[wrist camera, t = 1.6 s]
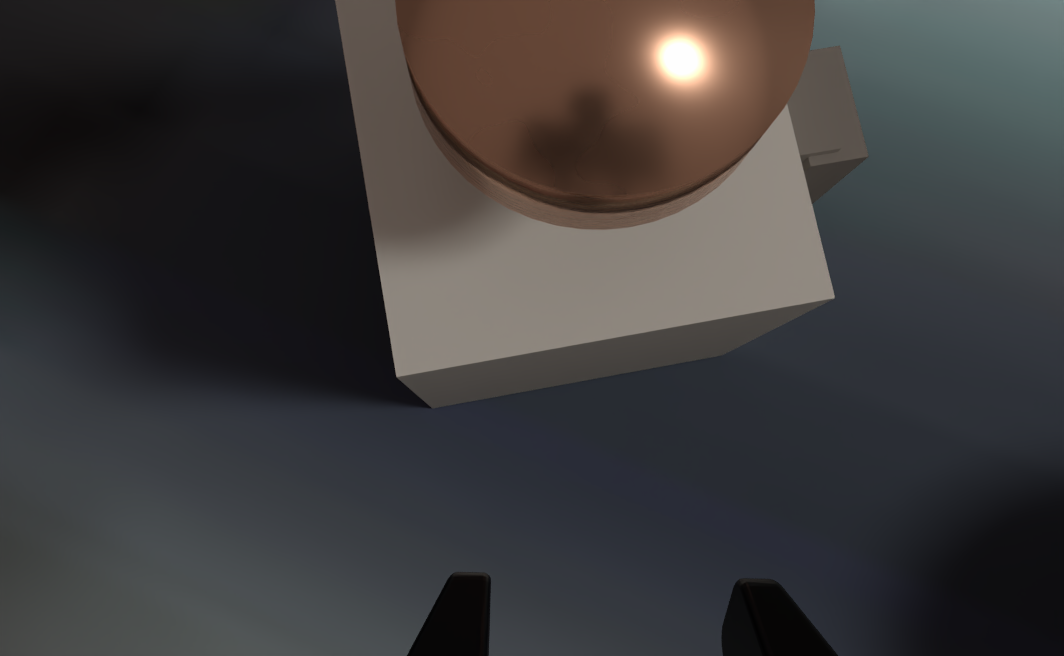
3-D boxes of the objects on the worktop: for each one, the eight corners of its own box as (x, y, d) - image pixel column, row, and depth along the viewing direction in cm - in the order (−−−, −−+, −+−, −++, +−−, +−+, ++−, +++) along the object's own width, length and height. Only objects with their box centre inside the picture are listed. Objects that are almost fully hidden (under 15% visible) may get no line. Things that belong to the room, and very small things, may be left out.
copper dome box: (784, 343, 23) (929, 281, 15) (432, 408, 23) (396, 377, 15) (721, 75, 25) (825, -110, 17) (385, 129, 24) (329, -38, 16)
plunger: (723, 274, 18) (858, 157, 11) (458, 320, 17) (433, 229, 11) (667, 28, 19) (761, -219, 12) (414, 68, 18) (364, -165, 12)
